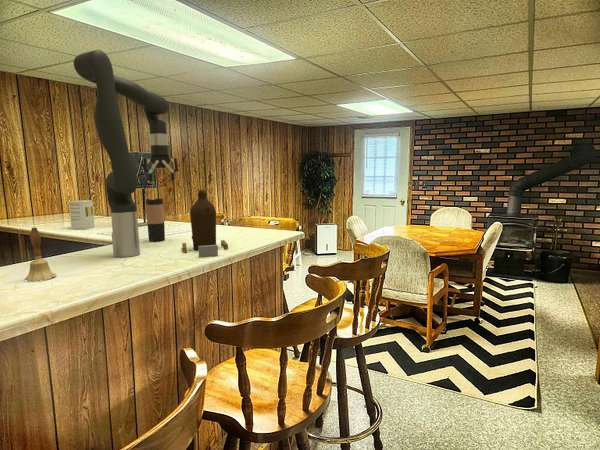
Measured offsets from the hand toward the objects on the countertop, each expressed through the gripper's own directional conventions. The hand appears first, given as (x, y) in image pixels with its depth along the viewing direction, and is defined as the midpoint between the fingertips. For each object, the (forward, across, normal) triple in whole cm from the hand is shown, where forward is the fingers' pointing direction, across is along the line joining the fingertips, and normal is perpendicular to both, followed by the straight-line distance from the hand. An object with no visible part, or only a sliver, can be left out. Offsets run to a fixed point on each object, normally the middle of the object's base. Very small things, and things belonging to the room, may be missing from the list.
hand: (162, 181), depth 168 cm
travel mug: (+28, -5, +10) cm, 31 cm away
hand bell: (+28, -35, -48) cm, 65 cm away
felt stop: (+28, +17, -34) cm, 47 cm away
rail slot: (+28, +16, -18) cm, 37 cm away
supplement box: (+28, -52, +73) cm, 94 cm away
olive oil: (+28, +16, -18) cm, 37 cm away
